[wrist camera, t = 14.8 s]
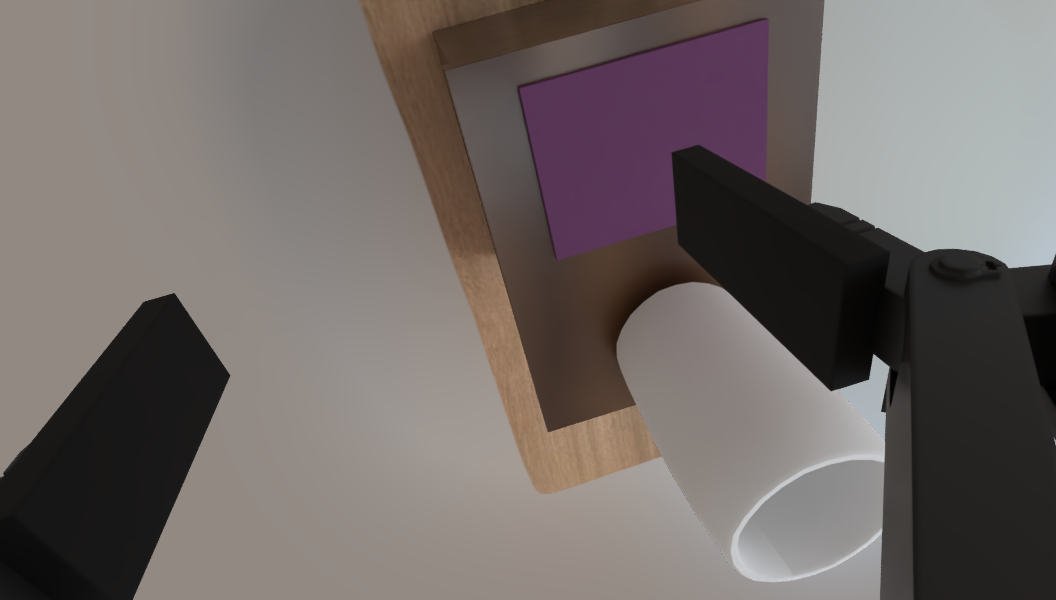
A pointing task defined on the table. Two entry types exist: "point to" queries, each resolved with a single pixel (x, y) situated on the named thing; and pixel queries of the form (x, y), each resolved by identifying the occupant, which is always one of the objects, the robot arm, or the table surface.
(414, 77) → the table surface
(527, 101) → the purple rectangular slab
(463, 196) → the table surface
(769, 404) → the cup
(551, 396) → the box
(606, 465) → the table surface
